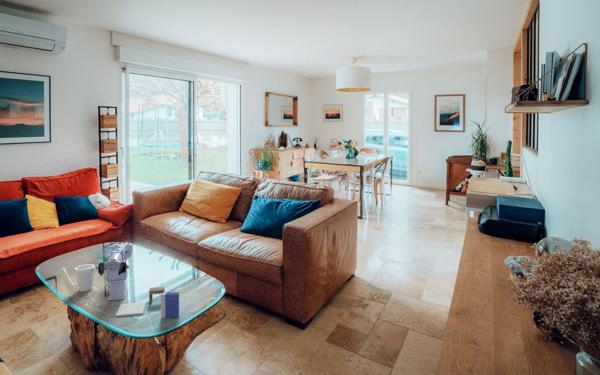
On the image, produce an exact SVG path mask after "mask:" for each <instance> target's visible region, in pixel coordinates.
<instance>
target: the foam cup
mask: <svg viewBox="0 0 600 375" xmlns="http://www.w3.org/2000/svg"><path fill="white" fill-rule="evenodd" d="M95 270H96V265H95V264H93V263H91V264H89V263H87V264H80V265H78V266H76V267H74V273H75V278H76V282H77V287H78V291H79V290H80V291H79V292H81V291H85V292H88V291H87V290H89V291H91V290H93V288H94V286H93V285H94V276H95Z"/></svg>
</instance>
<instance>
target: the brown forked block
mask: <svg viewBox="0 0 600 375" xmlns="http://www.w3.org/2000/svg"><path fill="white" fill-rule="evenodd" d="M162 293H165V286H157V287H150V288H149V291H148V296H149V298H148V299H149V300H148V301H149V305H152V303H153V302H152V301H153V299H154V298H153V295H159V294H160V295H161V294H162Z"/></svg>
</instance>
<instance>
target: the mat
mask: <svg viewBox="0 0 600 375" xmlns="http://www.w3.org/2000/svg"><path fill="white" fill-rule="evenodd" d="M147 303H148V302H147V301H141V302H131V303H130V302H128V303H121V304H120V306H119V307H118V310H117V312H116V314H115V317H116V318H117V317H126V316H127V317H128V316H129V317H130V316H137V315H138V316H139V315H144V312H145V309H146V306H147Z"/></svg>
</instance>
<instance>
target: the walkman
mask: <svg viewBox="0 0 600 375" xmlns="http://www.w3.org/2000/svg"><path fill="white" fill-rule="evenodd" d="M178 315H179V316H180V292H177V291H173V292H171V291H169V292H167V291H166V292H164V293H162V294H160V316H161V318H160V319H165V318H167V319H168V317H178V318H179V316H178Z"/></svg>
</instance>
